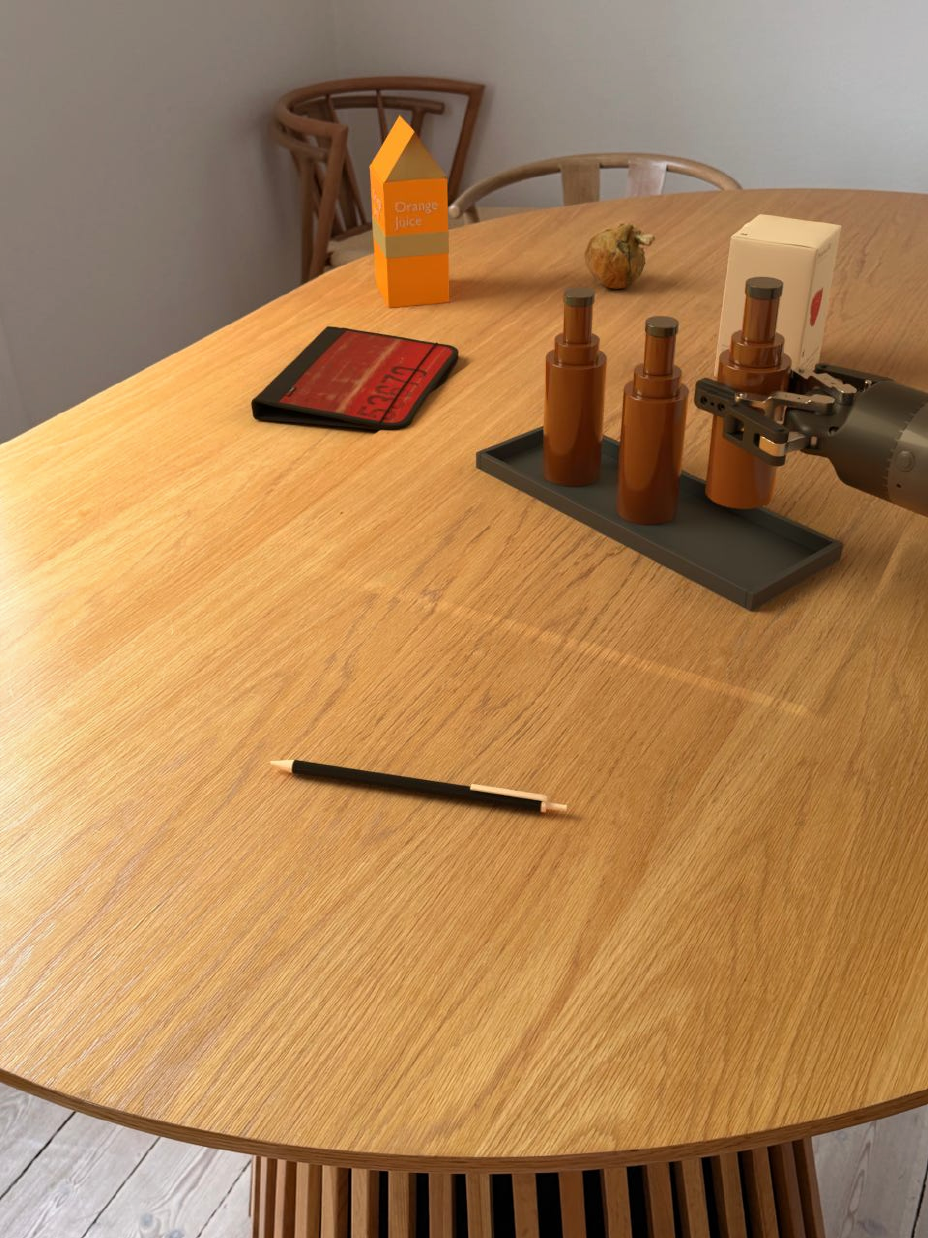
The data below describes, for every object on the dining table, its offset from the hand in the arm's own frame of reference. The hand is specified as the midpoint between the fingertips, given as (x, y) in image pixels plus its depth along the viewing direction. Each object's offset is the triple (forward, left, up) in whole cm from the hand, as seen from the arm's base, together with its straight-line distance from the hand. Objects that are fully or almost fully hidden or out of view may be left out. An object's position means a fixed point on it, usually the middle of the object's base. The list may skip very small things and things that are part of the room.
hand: (724, 380), depth 91 cm
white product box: (+6, -37, -15) cm, 41 cm away
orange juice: (+52, -41, -15) cm, 68 cm away
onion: (+31, -55, -15) cm, 65 cm away
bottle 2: (+6, -2, -14) cm, 15 cm away
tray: (+6, -2, -14) cm, 16 cm away
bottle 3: (-2, +1, -8) cm, 9 cm away
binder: (+42, -14, -15) cm, 47 cm away
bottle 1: (+15, -6, -14) cm, 21 cm away
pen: (+6, +37, -14) cm, 40 cm away
